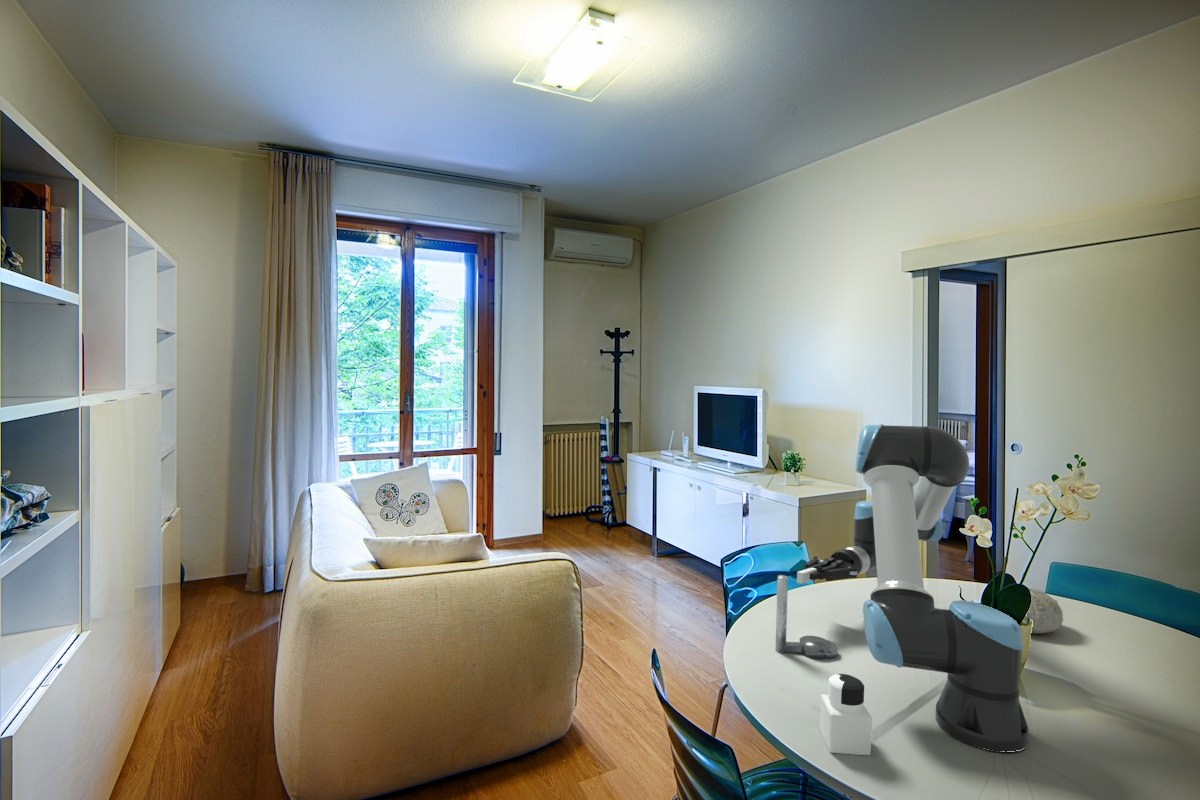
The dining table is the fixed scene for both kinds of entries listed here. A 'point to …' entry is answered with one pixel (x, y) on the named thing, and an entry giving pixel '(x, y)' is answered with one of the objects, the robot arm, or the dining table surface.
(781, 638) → the crank handle
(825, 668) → the dining table surface
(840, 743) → the medicine bottle
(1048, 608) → the grey rock
